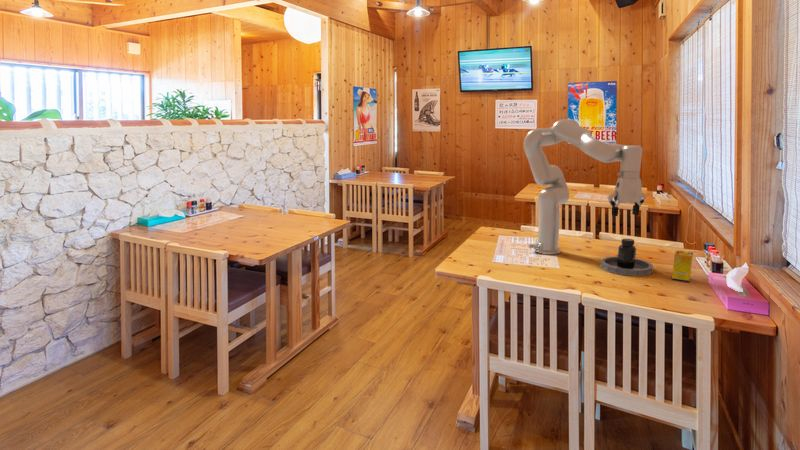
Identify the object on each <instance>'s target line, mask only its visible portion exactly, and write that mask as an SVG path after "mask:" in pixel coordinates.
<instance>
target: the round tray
mask: <svg viewBox="0 0 800 450" xmlns="http://www.w3.org/2000/svg"><path fill="white" fill-rule="evenodd" d="M617 259H618V256H606V257H603V258H602V259H600V261H599V262H600V264H599V266H600V268H601V269H602V270H603V271H605V272H607V273H611V274H615V275H619V276H626V277H644V276H649V275H651V274H653V271H654V265H653V264H652V263H651V262H649V261H647V260H645V259H641V258H636V257H635V267H634V268H632V269H625V268H620V267H618V266H617Z"/></svg>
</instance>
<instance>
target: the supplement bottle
mask: <svg viewBox="0 0 800 450" xmlns="http://www.w3.org/2000/svg"><path fill="white" fill-rule="evenodd" d="M636 255H637V247H636V246H635V239H633V238H622V239H621V242H620V245H619V246H618V250H617V257H618V259H617V266H618V267H620V268H625V269H632V268H634V267H635V258H636Z"/></svg>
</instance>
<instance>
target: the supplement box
mask: <svg viewBox="0 0 800 450" xmlns="http://www.w3.org/2000/svg"><path fill="white" fill-rule="evenodd" d="M693 255H694V253H693V251H685V250H675V253H674V259H673V268H672V276H671V281H676V282H681V283H682V282H683V283H687V284H688V283H690V280H691V272H692V264H693Z"/></svg>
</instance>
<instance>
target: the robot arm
mask: <svg viewBox="0 0 800 450" xmlns="http://www.w3.org/2000/svg"><path fill="white" fill-rule="evenodd" d="M523 139H524V140H523V151H524V154H525V156H526V158H527V161H528V165H529V169H530V171H531V173H532V176H533V179H534V181H535V183H536V184H537V185H538V186H540V187H541V186H547V187H545V188H543V189H542V190H541V191H539V194H538V197H537V202H538V231H537V233H538V234H537V240H536V241H535V242H534V243H528V245H527V247H528V248H529V249H534V252H535V251H536V252H535V253H537V252H538V254H541V253H542V255H558V254H559V255H560V253H562V249H561V248H559V235H560V217H561V216H560V215H561V214H560V209H559V206H561V205H563V204H564V205H565V203H567V202H568V201H569V199H570V190H569V187H568V184H567V181H566V179H565V175H564V173H563V171H562V169H561V168H560V166H558V165H555V164H550V163H549V161H548V157H547V155H546V153H545V152H544V151H543V149H542V147H549V146H553V145H557V144H559V143H562V142H566V143H568V144H570V145H572V146H575V147H577V148H578V149H579V150H580V151H581V152H583V153H584V154H586V155H587V156H589V157H590V158H593V159H594V160H597V161H598V162H602V163H604V164H608V163H615V162H620V166H619V167H620V168H619V172H617V177H618V178H617V181H616V184H615V187H614V192H612V193H611V194H610V195H608V196H607V199H608V203H609V204H610V206H611V216H614V217H618V215H619V205H620V204H626V203H627V204H628V203H629V204H630V203H632V204H634V205H633V206H632V215H634V216H639V213H640V208H641V206H642V204H643V203H644V202H645V200H646V199H647V195H646V194H644V193H643V190H642V189H643V187H642V179H641V178H640V173H641V166H642V157H643V147H642V146H641V145H638V144H637V145H635V144H633V145H632V144H629V145H627V144H626V145H625V144H619V143H613V144H612V143H610V144H608V143H605V142H603V141H601V140H599V139H597V138H595V137H593V135H592V132H591V130H589V129H587V128H585V127H583V126H581V125H580V124H579V123H578V122H577V121H576V120H574V119H570V118H569V119H565V118H564V119H563V118H562V119H559V120H557V121H556V122H554V123H553V125H552V126H551V127H539V128H538V127H537V128H534V129H531V130H530V131H528V132H527V134H526V136H525V137H524V138H523Z"/></svg>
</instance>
